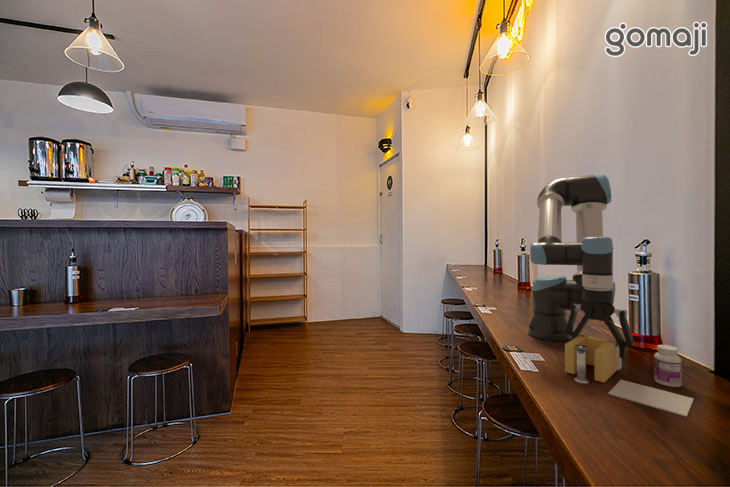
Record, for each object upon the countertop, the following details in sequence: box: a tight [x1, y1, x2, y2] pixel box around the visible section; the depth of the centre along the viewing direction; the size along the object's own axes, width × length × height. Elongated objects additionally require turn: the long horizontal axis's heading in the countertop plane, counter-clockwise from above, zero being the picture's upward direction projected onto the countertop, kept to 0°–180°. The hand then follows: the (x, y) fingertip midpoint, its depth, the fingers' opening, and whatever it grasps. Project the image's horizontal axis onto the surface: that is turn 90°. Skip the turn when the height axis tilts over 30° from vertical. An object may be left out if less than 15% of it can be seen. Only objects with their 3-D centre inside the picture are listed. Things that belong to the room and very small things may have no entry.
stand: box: [574, 345, 589, 385], centre depth 89 cm, size 3×3×10 cm
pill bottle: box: [653, 344, 682, 388], centre depth 87 cm, size 5×5×10 cm
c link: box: [564, 334, 618, 383], centre depth 95 cm, size 13×9×8 cm
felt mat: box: [607, 379, 694, 418], centre depth 80 cm, size 11×14×1 cm
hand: (597, 363), depth 98 cm, fingers closed on c link, 9 cm apart
